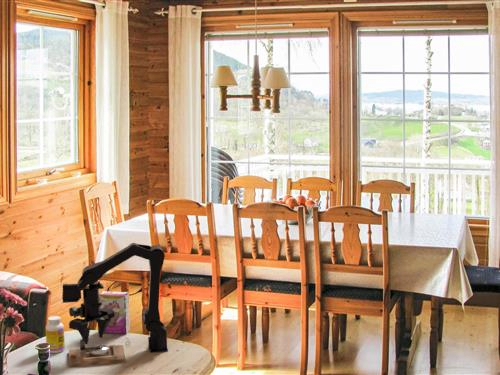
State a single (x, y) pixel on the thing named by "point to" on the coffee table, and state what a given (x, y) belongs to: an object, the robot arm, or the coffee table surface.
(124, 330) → the candy bar box
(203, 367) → the coffee table surface
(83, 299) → the robot arm
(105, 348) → the crank wheel
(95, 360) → the board
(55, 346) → the supplement bottle
